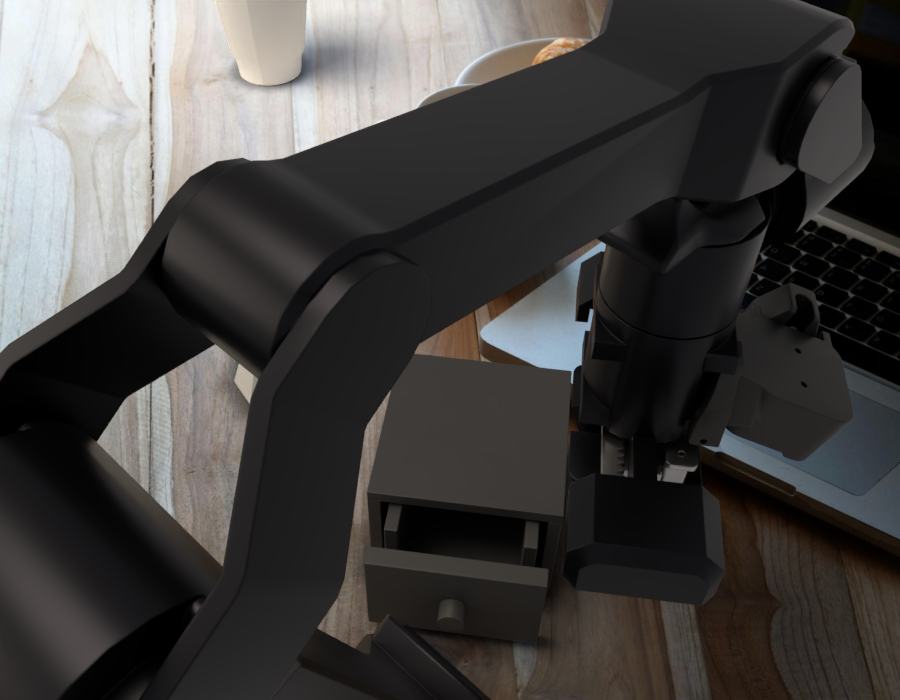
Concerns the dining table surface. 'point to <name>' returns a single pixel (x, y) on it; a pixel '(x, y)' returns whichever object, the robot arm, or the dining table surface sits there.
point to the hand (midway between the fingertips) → (612, 508)
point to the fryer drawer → (457, 573)
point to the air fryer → (475, 444)
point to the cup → (265, 38)
